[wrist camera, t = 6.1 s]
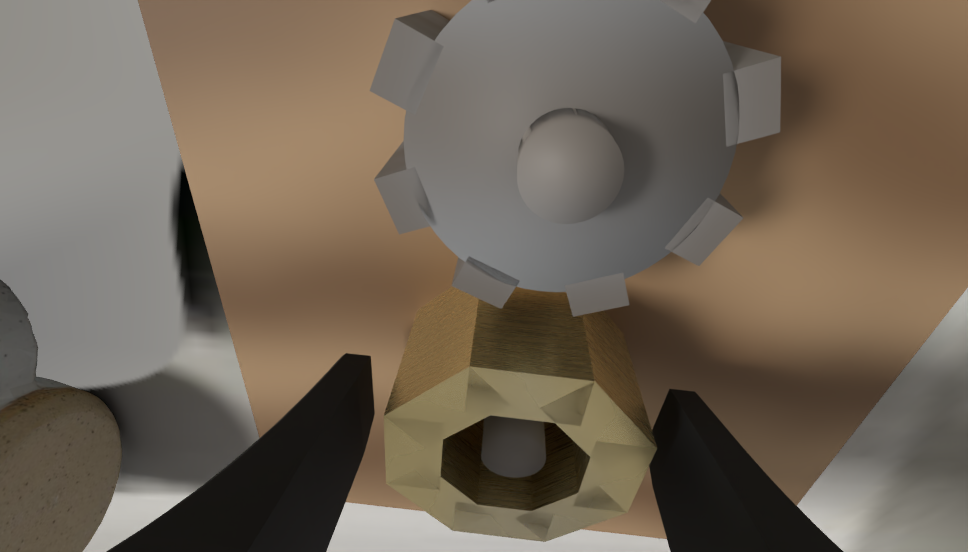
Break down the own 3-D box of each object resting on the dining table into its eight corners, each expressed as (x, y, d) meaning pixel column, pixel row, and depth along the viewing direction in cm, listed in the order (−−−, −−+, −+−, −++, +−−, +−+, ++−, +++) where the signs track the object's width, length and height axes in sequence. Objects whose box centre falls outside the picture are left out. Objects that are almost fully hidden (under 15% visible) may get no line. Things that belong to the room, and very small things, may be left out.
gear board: (748, 517, 18) (815, 674, 14) (288, 465, 18) (221, 604, 14) (1146, -50, 8) (1772, -86, 4) (144, -145, 8) (-210, -268, 4)
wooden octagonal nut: (591, 430, 14) (610, 549, 11) (415, 410, 14) (387, 522, 11) (640, 283, 11) (683, 391, 8) (418, 257, 11) (381, 356, 8)
